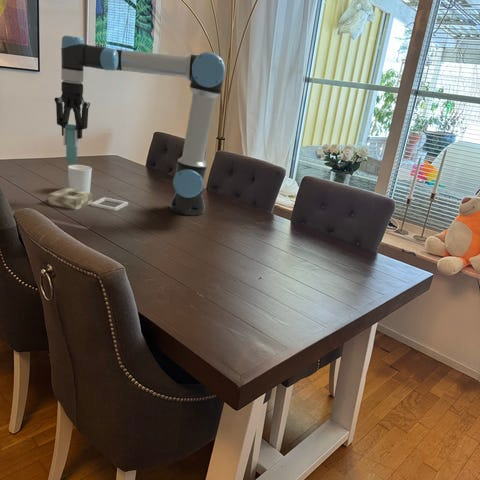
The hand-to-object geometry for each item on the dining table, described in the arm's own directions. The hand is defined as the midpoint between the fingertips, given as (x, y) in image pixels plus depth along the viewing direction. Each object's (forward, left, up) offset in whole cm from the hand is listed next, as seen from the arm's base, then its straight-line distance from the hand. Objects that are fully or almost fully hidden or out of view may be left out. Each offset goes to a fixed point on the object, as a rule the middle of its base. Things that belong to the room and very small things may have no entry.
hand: (71, 145), depth 172 cm
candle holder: (+6, -16, -24) cm, 30 cm away
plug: (0, 0, -6) cm, 6 cm away
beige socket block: (0, 0, -24) cm, 24 cm away
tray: (-13, -7, -24) cm, 28 cm away
